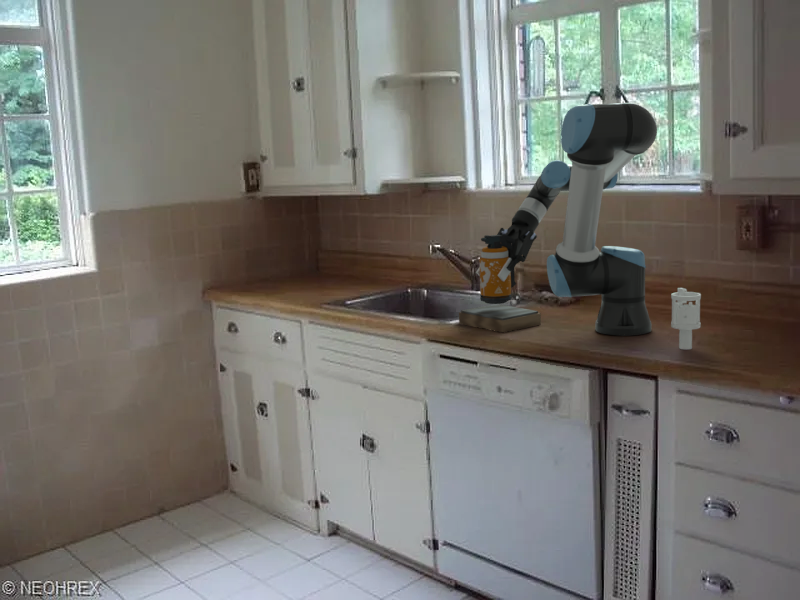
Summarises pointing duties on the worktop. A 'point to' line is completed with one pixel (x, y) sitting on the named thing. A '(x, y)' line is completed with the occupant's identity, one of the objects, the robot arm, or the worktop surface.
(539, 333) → the worktop surface
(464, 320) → the stand
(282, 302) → the worktop surface
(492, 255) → the canister
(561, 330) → the worktop surface
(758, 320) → the worktop surface
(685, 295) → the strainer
